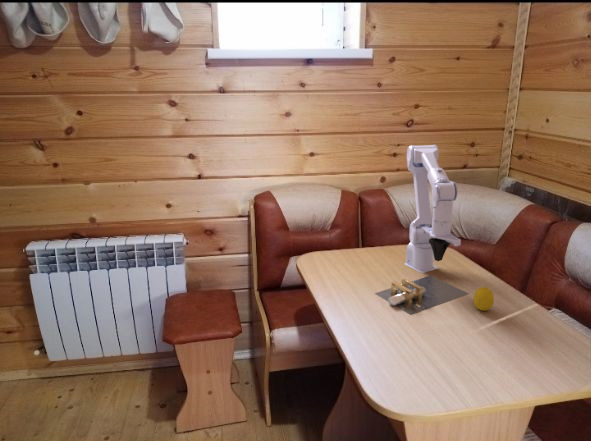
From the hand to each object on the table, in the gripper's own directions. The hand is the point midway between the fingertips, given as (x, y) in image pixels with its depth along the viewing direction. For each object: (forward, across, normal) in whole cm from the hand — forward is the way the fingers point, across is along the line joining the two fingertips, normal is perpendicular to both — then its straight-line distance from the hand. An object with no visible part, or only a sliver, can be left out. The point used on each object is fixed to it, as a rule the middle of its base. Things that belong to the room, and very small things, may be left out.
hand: (438, 260), depth 153 cm
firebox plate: (+9, +2, -8) cm, 13 cm away
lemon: (+10, +19, -1) cm, 21 cm away
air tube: (+8, +2, -16) cm, 18 cm away
